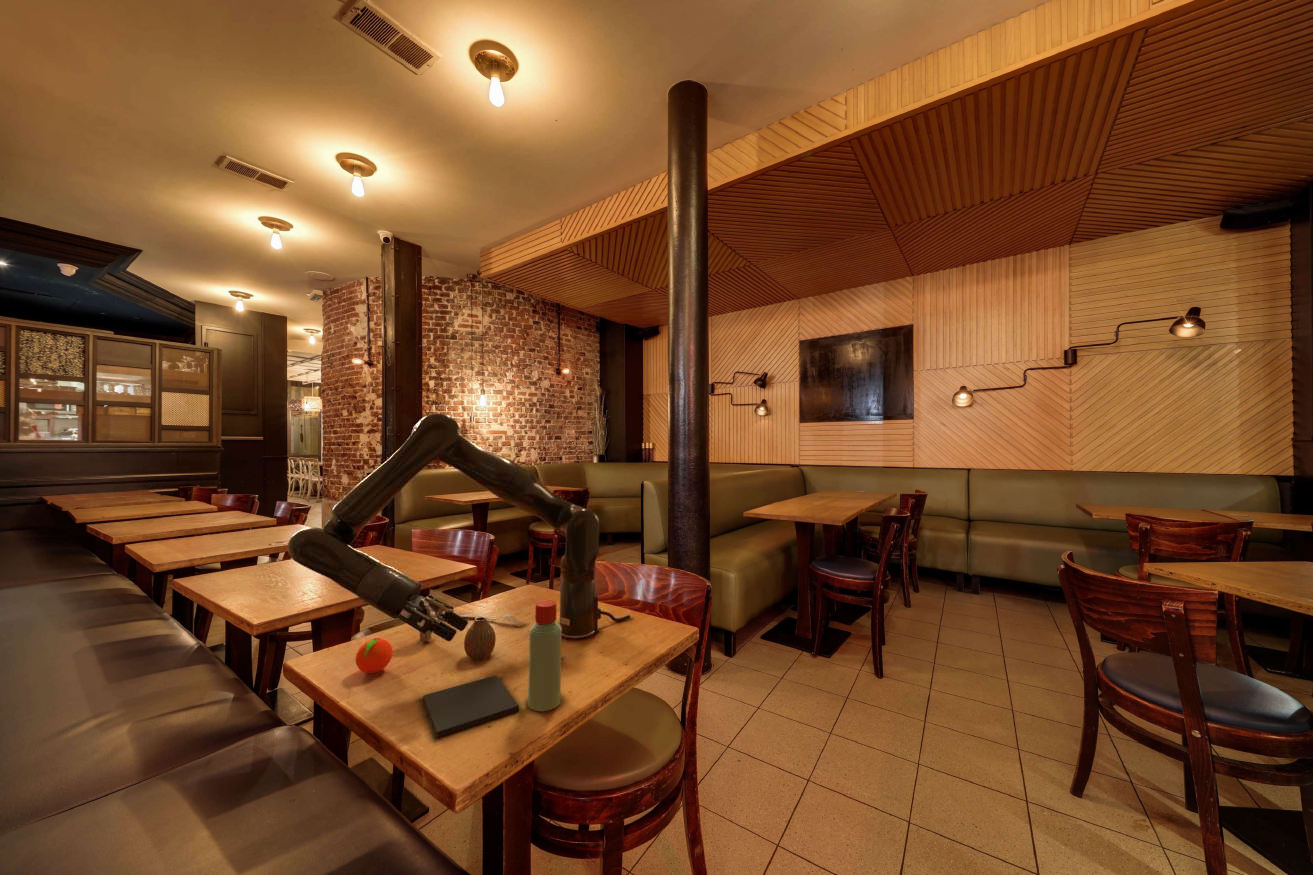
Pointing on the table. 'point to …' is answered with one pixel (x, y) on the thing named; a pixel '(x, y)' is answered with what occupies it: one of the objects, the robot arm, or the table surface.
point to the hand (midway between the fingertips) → (460, 631)
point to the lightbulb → (425, 636)
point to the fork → (495, 618)
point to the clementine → (374, 655)
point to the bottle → (544, 666)
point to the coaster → (468, 705)
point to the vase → (479, 639)
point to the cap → (545, 612)
